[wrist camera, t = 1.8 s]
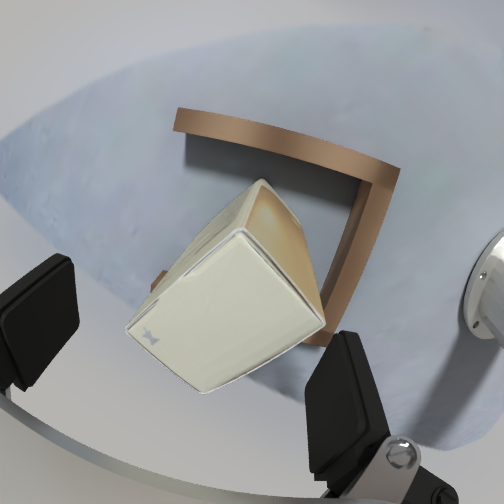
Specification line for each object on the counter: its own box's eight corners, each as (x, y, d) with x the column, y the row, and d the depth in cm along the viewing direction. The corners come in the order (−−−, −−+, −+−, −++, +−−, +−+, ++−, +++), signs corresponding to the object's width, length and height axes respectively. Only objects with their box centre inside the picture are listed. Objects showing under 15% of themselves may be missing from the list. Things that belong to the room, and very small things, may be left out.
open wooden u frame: (386, 164, 17) (400, 168, 15) (323, 328, 23) (326, 347, 21) (190, 110, 17) (178, 107, 15) (161, 285, 23) (150, 301, 21)
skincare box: (238, 272, 22) (198, 401, 10) (198, 230, 21) (116, 333, 10) (306, 220, 20) (333, 329, 8) (265, 172, 19) (239, 225, 7)
